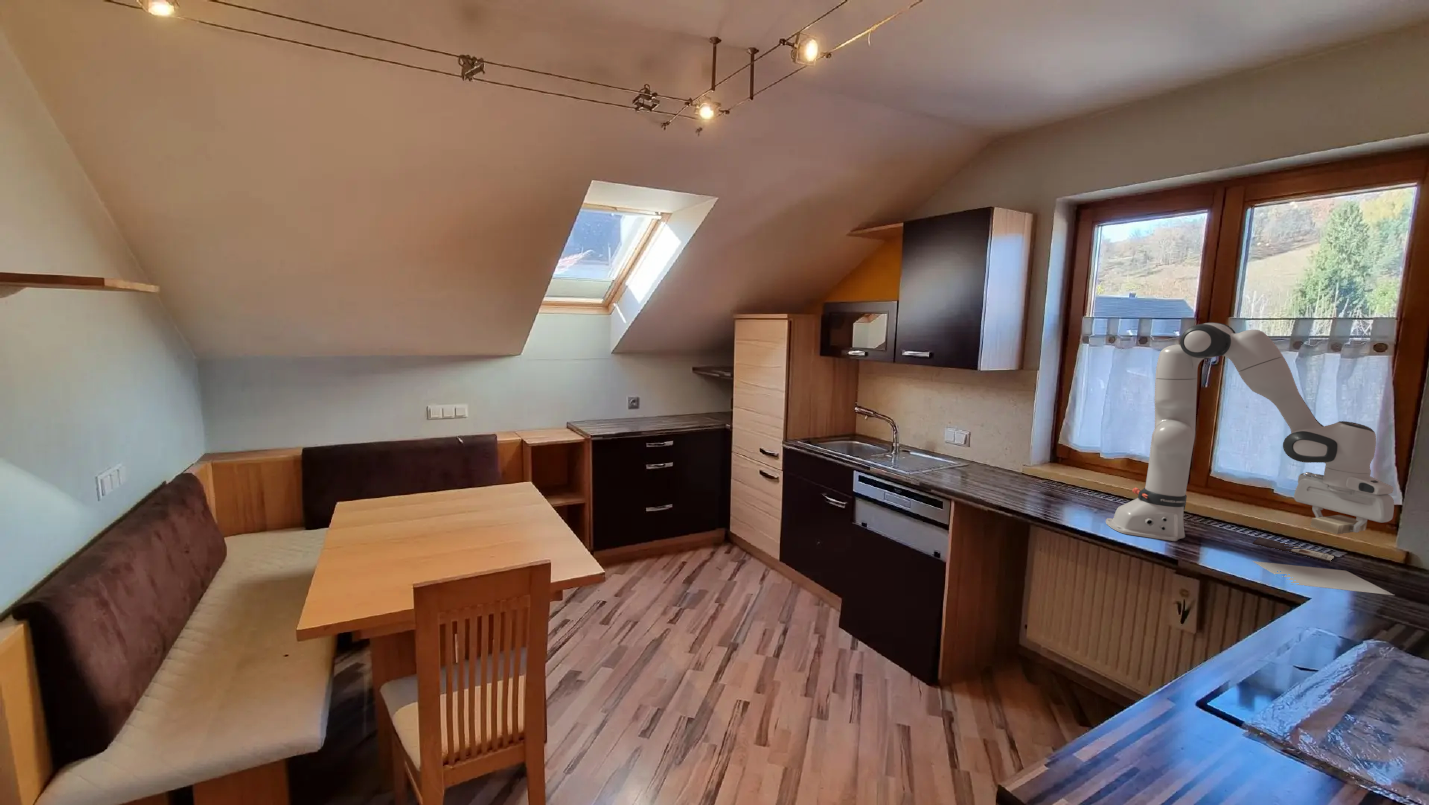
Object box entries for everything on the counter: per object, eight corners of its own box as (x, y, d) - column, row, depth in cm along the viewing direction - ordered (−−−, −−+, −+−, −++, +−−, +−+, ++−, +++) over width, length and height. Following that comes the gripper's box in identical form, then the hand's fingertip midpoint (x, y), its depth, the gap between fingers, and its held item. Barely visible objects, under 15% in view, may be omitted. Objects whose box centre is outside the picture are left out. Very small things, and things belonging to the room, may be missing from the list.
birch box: (1339, 514, 175) (1311, 518, 171) (1367, 521, 169) (1339, 525, 165) (1338, 523, 175) (1310, 527, 171) (1365, 530, 170) (1337, 534, 165)
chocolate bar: (1259, 536, 202) (1335, 555, 188) (1259, 539, 202) (1334, 558, 188) (1252, 542, 197) (1329, 561, 183) (1252, 545, 197) (1329, 564, 183)
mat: (1290, 585, 166) (1291, 584, 165) (1251, 562, 181) (1252, 561, 181) (1394, 596, 161) (1394, 595, 161) (1345, 572, 176) (1345, 570, 176)
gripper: (1293, 470, 177) (1285, 515, 179) (1388, 490, 158) (1377, 540, 160) (1306, 469, 179) (1298, 514, 181) (1402, 489, 160) (1391, 538, 162)
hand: (1336, 527), depth 170 cm, fingers closed on birch box, 6 cm apart
